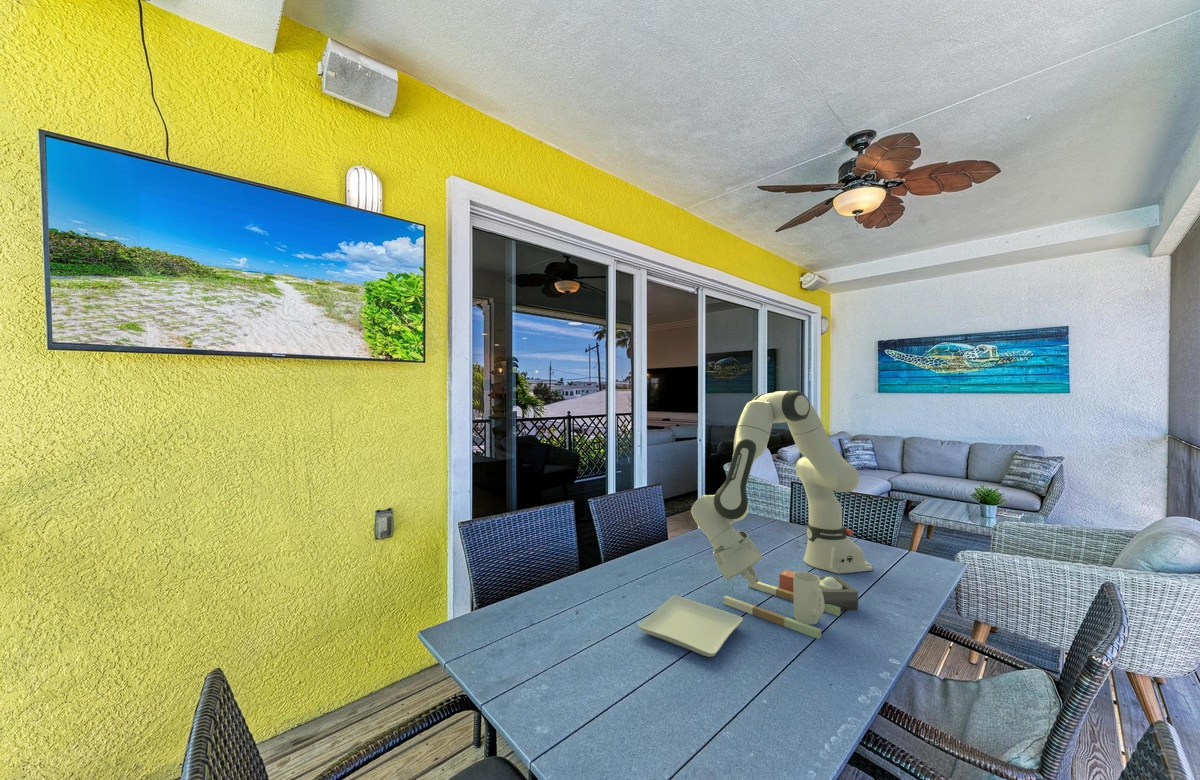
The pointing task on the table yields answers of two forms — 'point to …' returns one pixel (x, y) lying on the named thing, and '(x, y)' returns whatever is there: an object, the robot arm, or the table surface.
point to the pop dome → (830, 583)
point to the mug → (807, 598)
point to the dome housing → (841, 596)
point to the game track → (776, 617)
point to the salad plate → (691, 625)
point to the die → (786, 580)
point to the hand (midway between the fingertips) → (756, 582)
